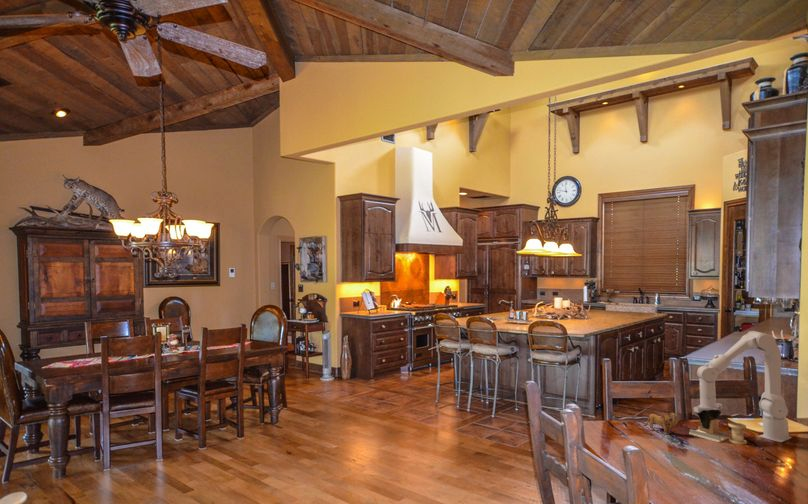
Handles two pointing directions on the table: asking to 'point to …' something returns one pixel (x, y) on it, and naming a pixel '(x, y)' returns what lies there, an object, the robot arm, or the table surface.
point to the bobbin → (737, 433)
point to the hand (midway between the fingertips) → (709, 427)
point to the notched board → (710, 435)
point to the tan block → (711, 426)
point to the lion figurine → (663, 421)
